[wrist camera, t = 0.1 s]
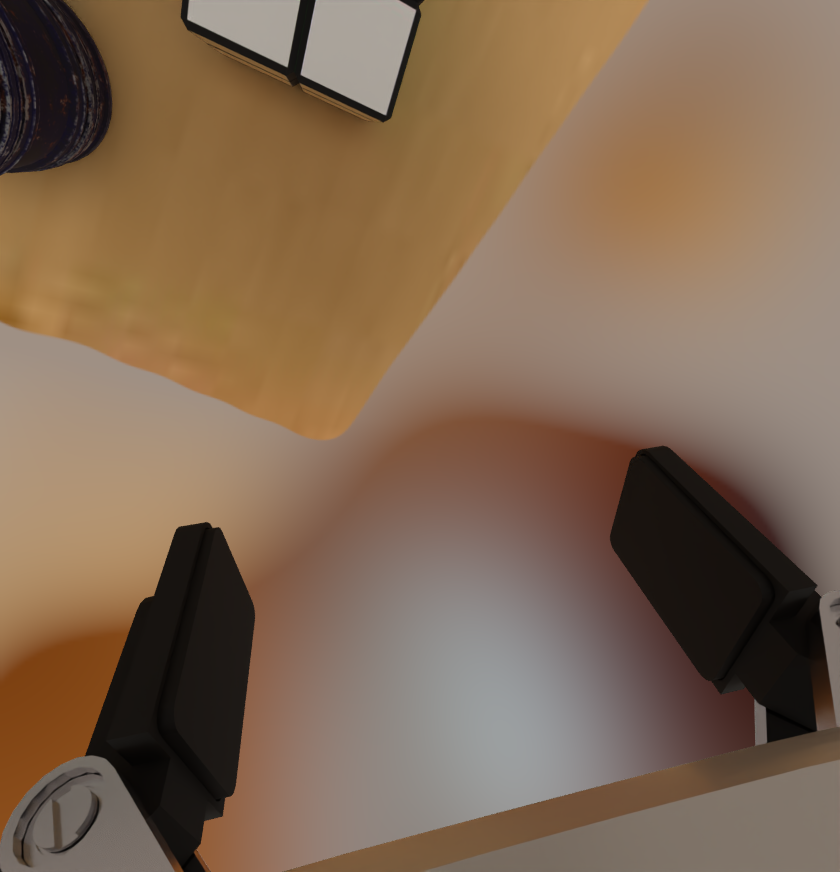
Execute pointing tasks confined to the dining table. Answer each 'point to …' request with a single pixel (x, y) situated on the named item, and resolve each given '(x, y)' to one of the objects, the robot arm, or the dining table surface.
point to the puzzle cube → (317, 45)
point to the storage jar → (49, 87)
